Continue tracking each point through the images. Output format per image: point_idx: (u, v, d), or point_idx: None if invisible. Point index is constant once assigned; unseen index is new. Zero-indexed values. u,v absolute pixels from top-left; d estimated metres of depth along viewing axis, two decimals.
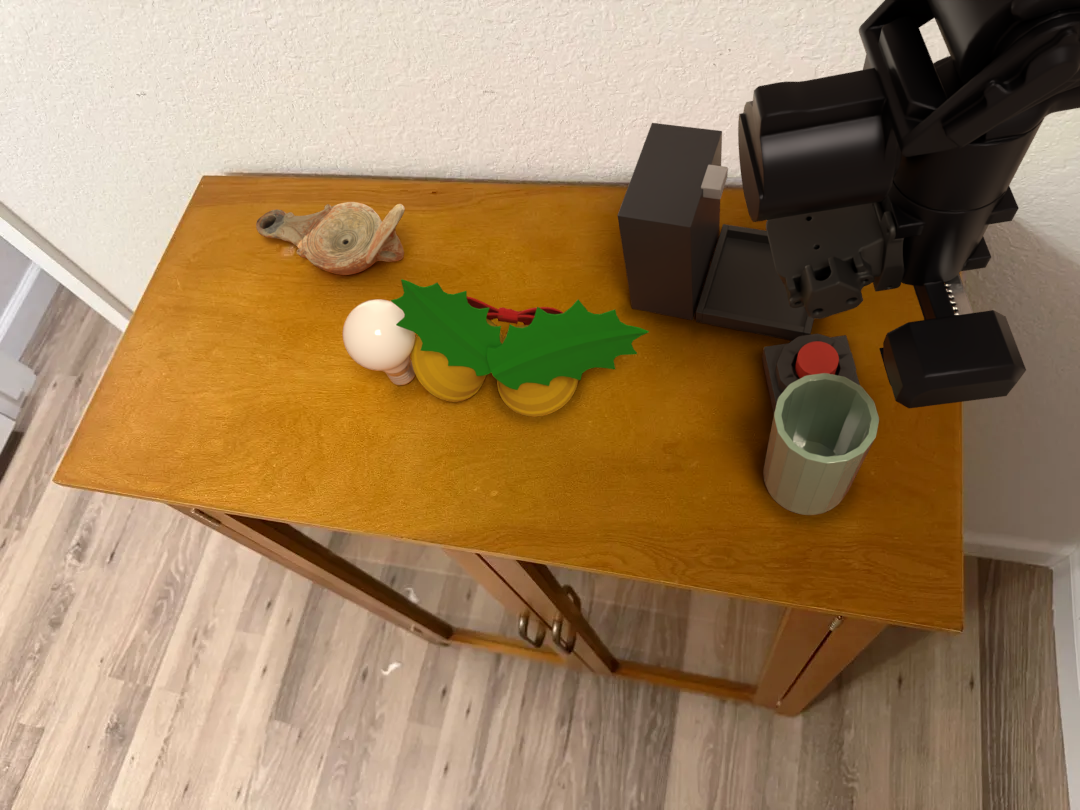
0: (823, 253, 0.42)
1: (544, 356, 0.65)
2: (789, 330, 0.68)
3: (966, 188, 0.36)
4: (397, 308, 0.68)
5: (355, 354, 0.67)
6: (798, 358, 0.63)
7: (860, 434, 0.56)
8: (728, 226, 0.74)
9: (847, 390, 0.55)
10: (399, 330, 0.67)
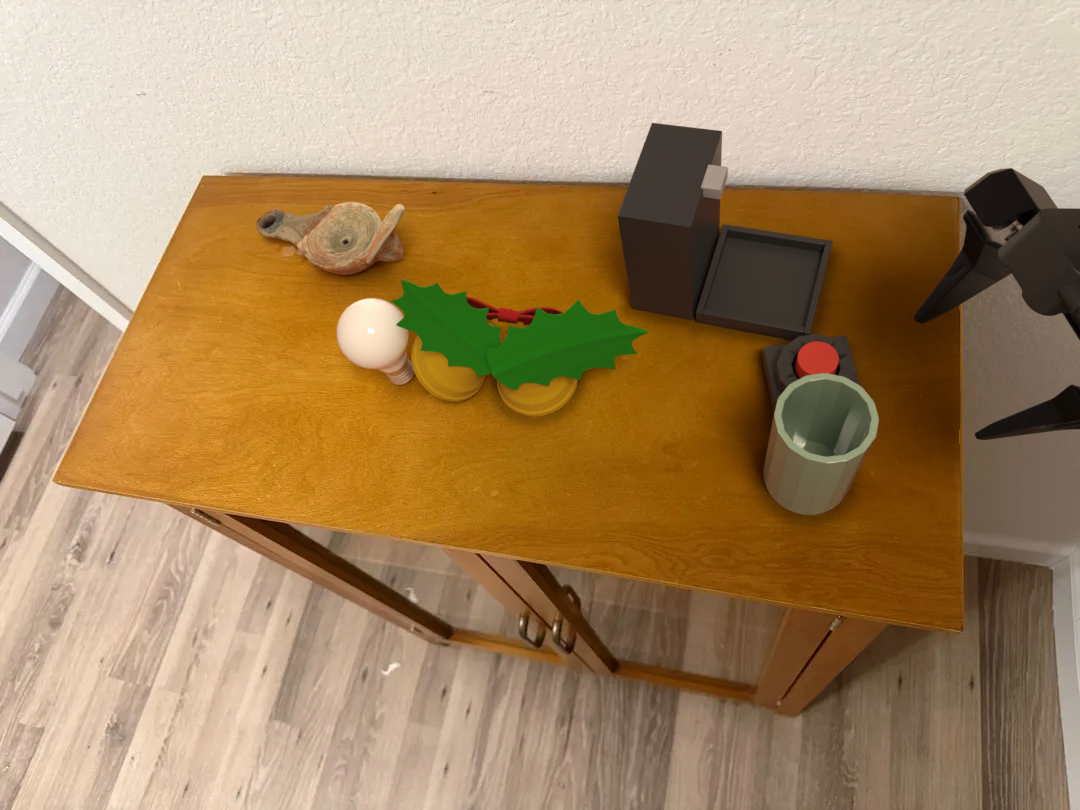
0: None
1: (544, 356, 0.65)
2: (789, 330, 0.68)
3: None
4: (388, 306, 0.68)
5: (347, 353, 0.67)
6: (798, 358, 0.63)
7: (860, 434, 0.56)
8: (728, 226, 0.74)
9: (847, 390, 0.55)
10: (390, 327, 0.67)
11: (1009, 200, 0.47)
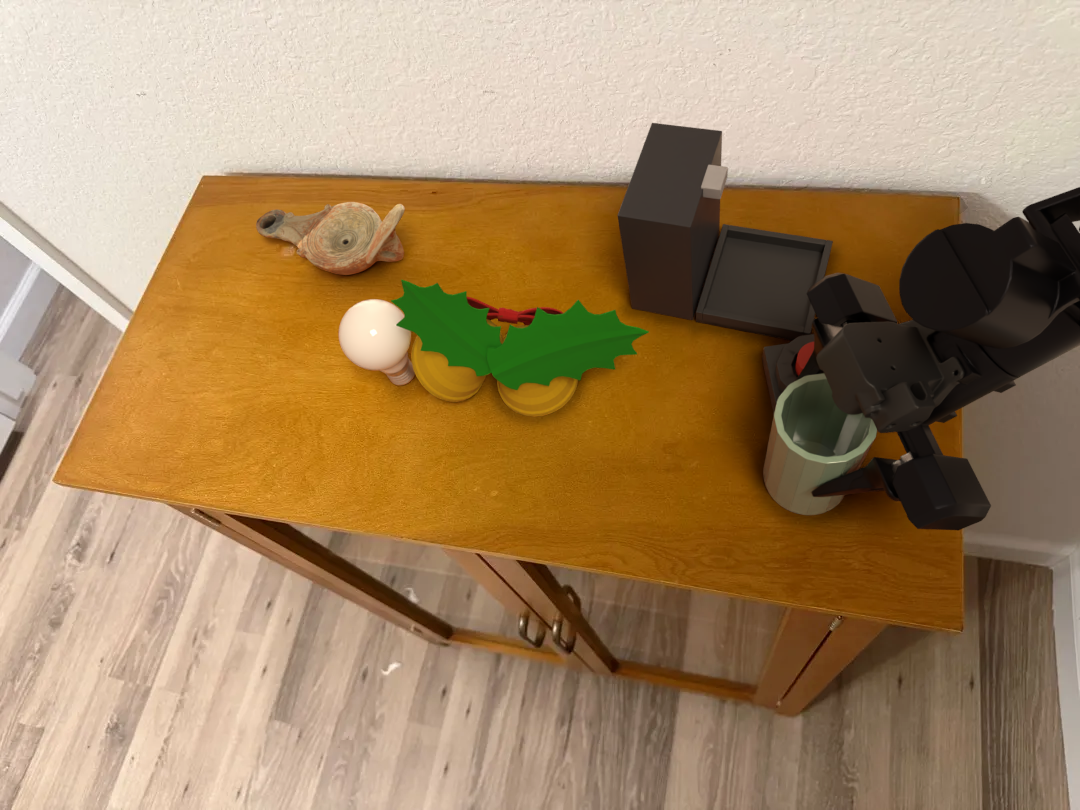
0: (900, 375, 0.46)
1: (544, 356, 0.65)
2: (789, 330, 0.68)
3: (1038, 359, 0.45)
4: (391, 307, 0.68)
5: (350, 354, 0.67)
6: (798, 358, 0.63)
7: (860, 434, 0.56)
8: (728, 226, 0.74)
9: None
10: (393, 329, 0.67)
11: (840, 303, 0.54)
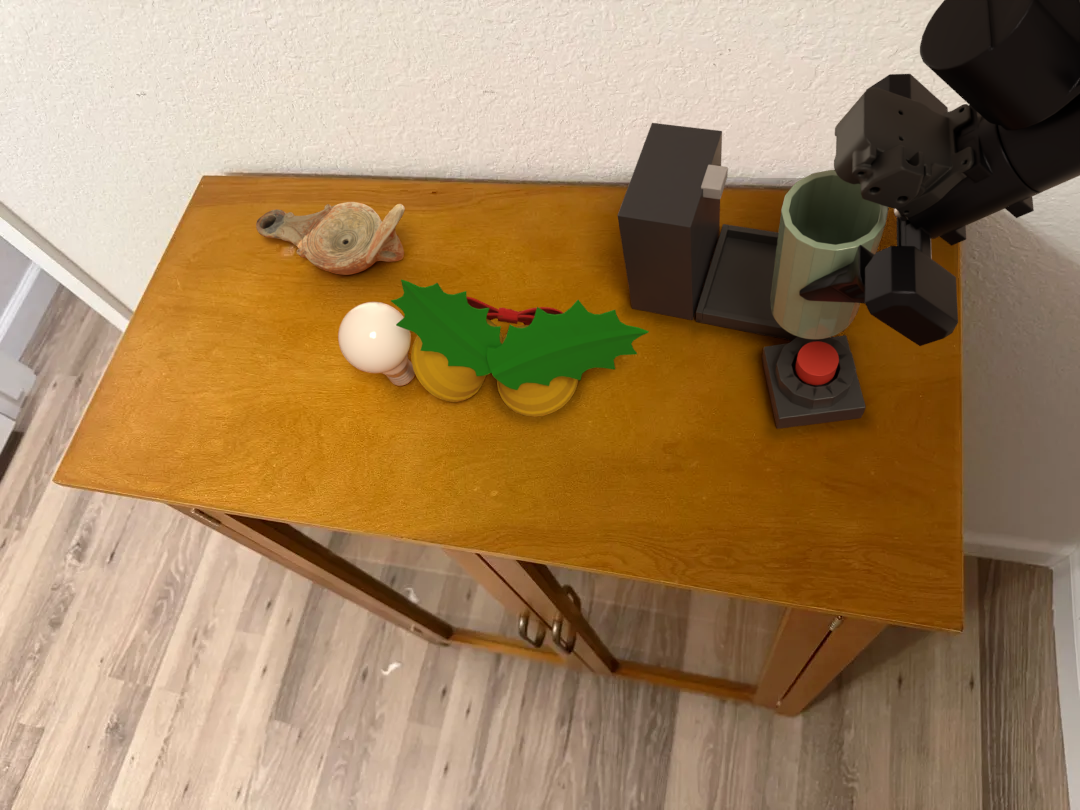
0: (905, 146, 0.45)
1: (544, 356, 0.65)
2: None
3: (1054, 165, 0.43)
4: (391, 311, 0.67)
5: (349, 357, 0.67)
6: (798, 358, 0.63)
7: None
8: (728, 226, 0.74)
9: None
10: (393, 333, 0.67)
11: None
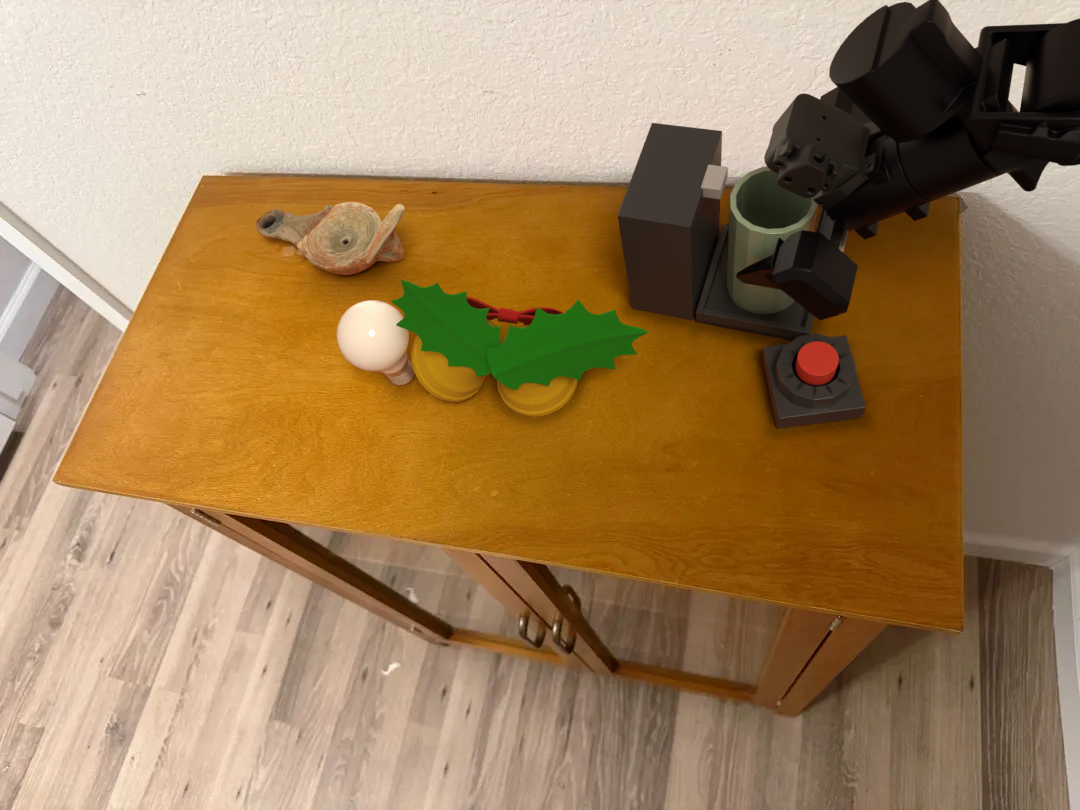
0: (820, 146, 0.53)
1: (544, 356, 0.65)
2: (789, 330, 0.68)
3: (936, 177, 0.50)
4: (389, 309, 0.68)
5: (347, 355, 0.67)
6: (798, 358, 0.63)
7: None
8: (728, 226, 0.74)
9: None
10: (390, 331, 0.67)
11: (836, 106, 0.60)
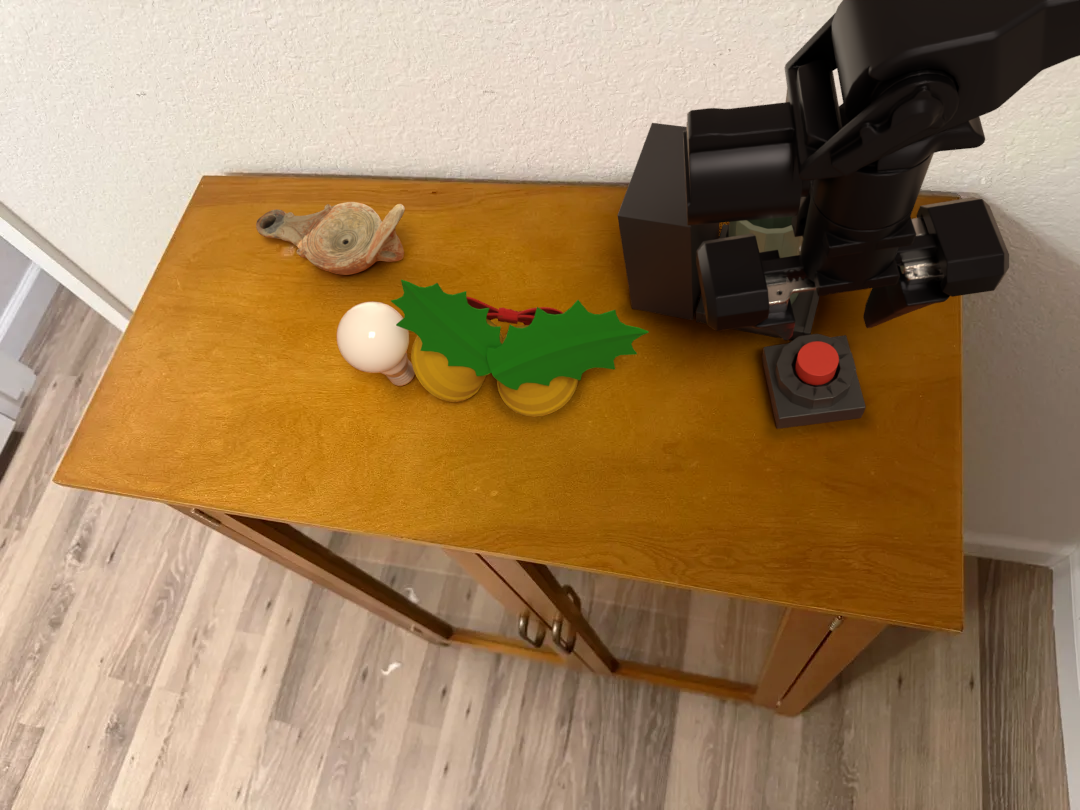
0: None
1: (544, 356, 0.65)
2: None
3: (867, 210, 0.42)
4: (389, 311, 0.67)
5: (347, 357, 0.67)
6: (798, 358, 0.63)
7: None
8: (728, 226, 0.74)
9: None
10: (390, 334, 0.67)
11: (938, 203, 0.51)
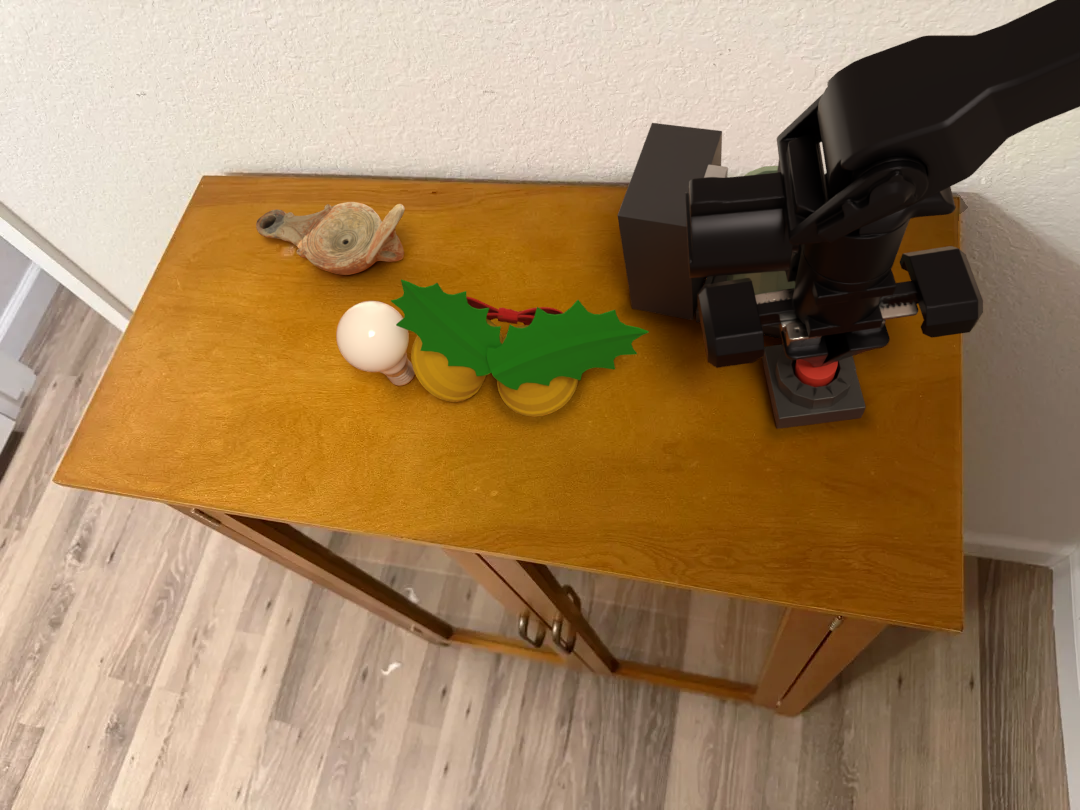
0: None
1: (544, 356, 0.65)
2: None
3: (851, 267, 0.47)
4: (389, 310, 0.68)
5: (346, 356, 0.67)
6: (797, 361, 0.64)
7: None
8: None
9: None
10: (389, 333, 0.67)
11: (919, 251, 0.55)
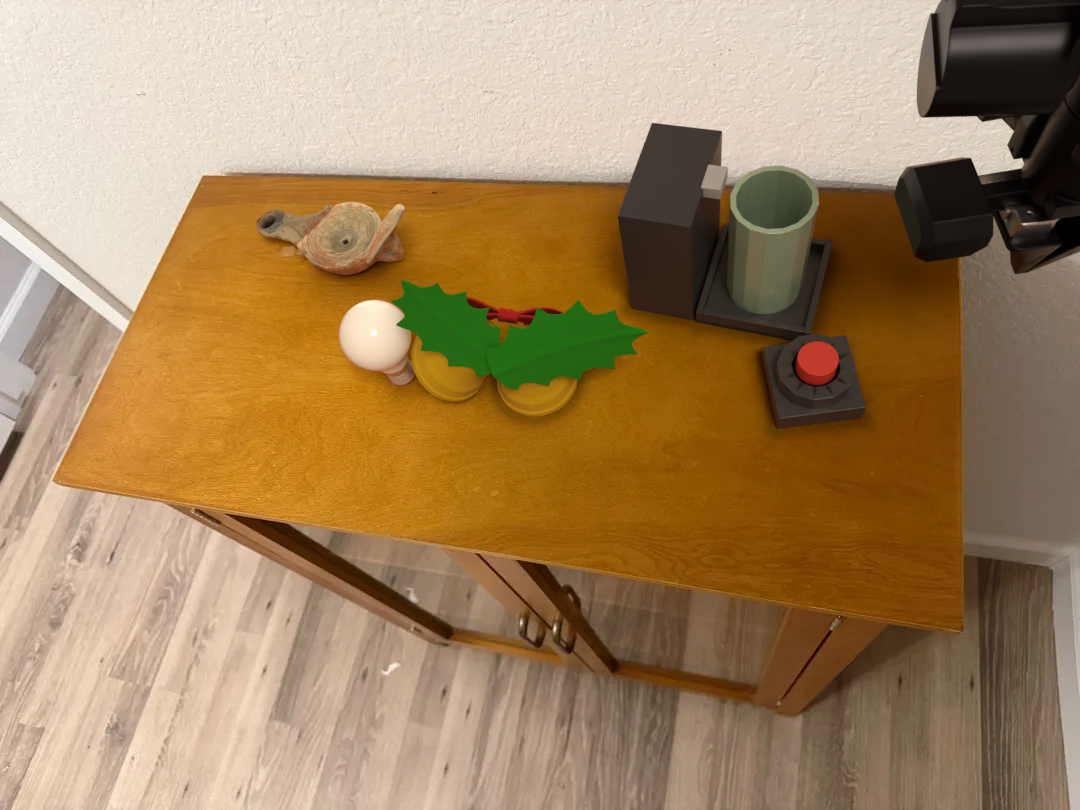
0: None
1: (544, 356, 0.65)
2: (789, 330, 0.68)
3: None
4: (393, 310, 0.68)
5: (348, 353, 0.67)
6: (798, 358, 0.63)
7: None
8: (728, 226, 0.74)
9: (807, 191, 0.62)
10: (392, 332, 0.67)
11: None
